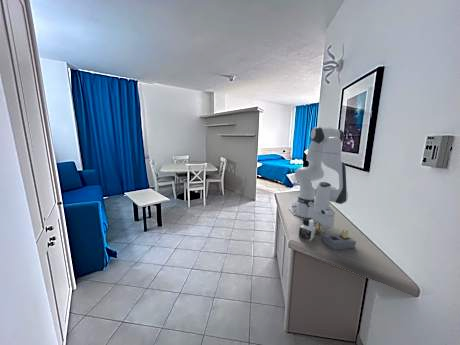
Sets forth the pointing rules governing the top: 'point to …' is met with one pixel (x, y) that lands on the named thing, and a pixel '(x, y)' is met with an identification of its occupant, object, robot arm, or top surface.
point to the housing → (338, 241)
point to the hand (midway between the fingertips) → (318, 228)
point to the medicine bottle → (307, 229)
